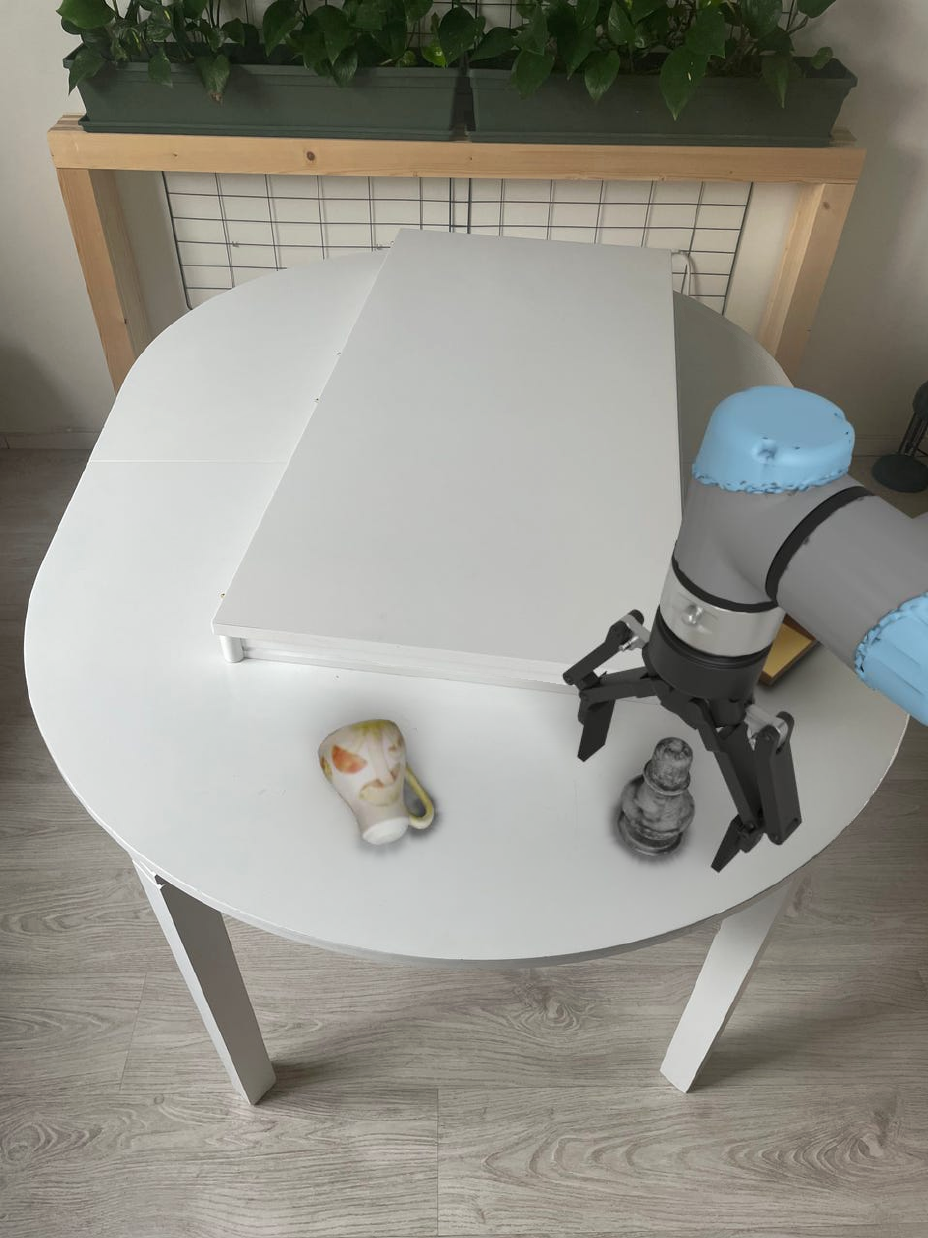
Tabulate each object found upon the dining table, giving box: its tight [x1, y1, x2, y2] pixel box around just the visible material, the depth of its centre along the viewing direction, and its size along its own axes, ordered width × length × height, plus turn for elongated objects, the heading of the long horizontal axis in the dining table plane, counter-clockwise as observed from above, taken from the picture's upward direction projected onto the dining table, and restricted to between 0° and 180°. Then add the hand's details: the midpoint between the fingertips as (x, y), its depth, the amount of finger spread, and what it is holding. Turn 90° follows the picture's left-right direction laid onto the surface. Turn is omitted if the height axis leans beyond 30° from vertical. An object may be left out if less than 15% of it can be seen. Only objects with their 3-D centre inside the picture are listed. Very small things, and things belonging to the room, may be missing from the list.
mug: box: [317, 718, 435, 846], centre depth 75 cm, size 8×10×10 cm
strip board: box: [758, 613, 819, 686], centre depth 93 cm, size 7×16×1 cm, turn 133°
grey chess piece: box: [617, 736, 696, 857], centre depth 72 cm, size 6×6×12 cm
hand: (654, 803), depth 74 cm, fingers open, 13 cm apart
